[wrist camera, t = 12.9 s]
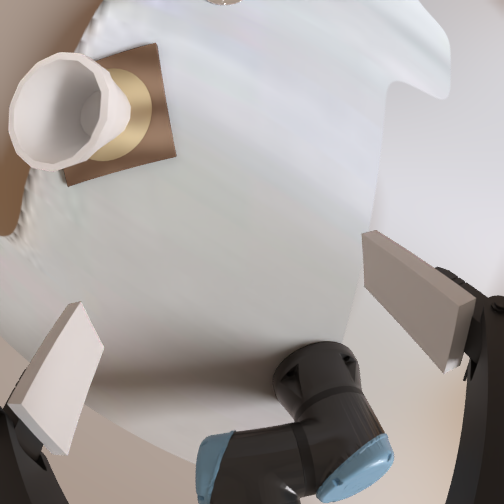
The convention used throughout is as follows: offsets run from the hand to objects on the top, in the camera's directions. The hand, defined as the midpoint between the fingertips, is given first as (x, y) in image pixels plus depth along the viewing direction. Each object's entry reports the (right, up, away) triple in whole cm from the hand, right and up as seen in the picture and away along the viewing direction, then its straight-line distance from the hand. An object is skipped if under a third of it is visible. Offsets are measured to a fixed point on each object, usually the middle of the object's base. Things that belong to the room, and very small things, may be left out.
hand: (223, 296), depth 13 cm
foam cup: (-15, +17, +16) cm, 28 cm away
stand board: (-15, +18, +18) cm, 29 cm away
